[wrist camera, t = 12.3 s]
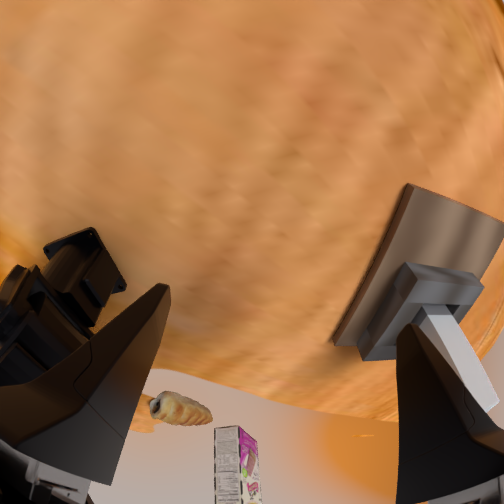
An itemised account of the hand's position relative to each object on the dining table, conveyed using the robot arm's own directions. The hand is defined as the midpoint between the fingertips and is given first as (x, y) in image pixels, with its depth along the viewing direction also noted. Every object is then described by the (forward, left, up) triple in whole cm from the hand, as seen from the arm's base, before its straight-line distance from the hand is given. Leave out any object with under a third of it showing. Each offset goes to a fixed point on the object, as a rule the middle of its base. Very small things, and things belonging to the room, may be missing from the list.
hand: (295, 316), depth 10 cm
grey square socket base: (+15, -13, -12) cm, 23 cm away
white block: (+13, -16, -11) cm, 23 cm away
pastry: (-19, -28, -12) cm, 36 cm away
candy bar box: (-15, -44, -12) cm, 48 cm away
